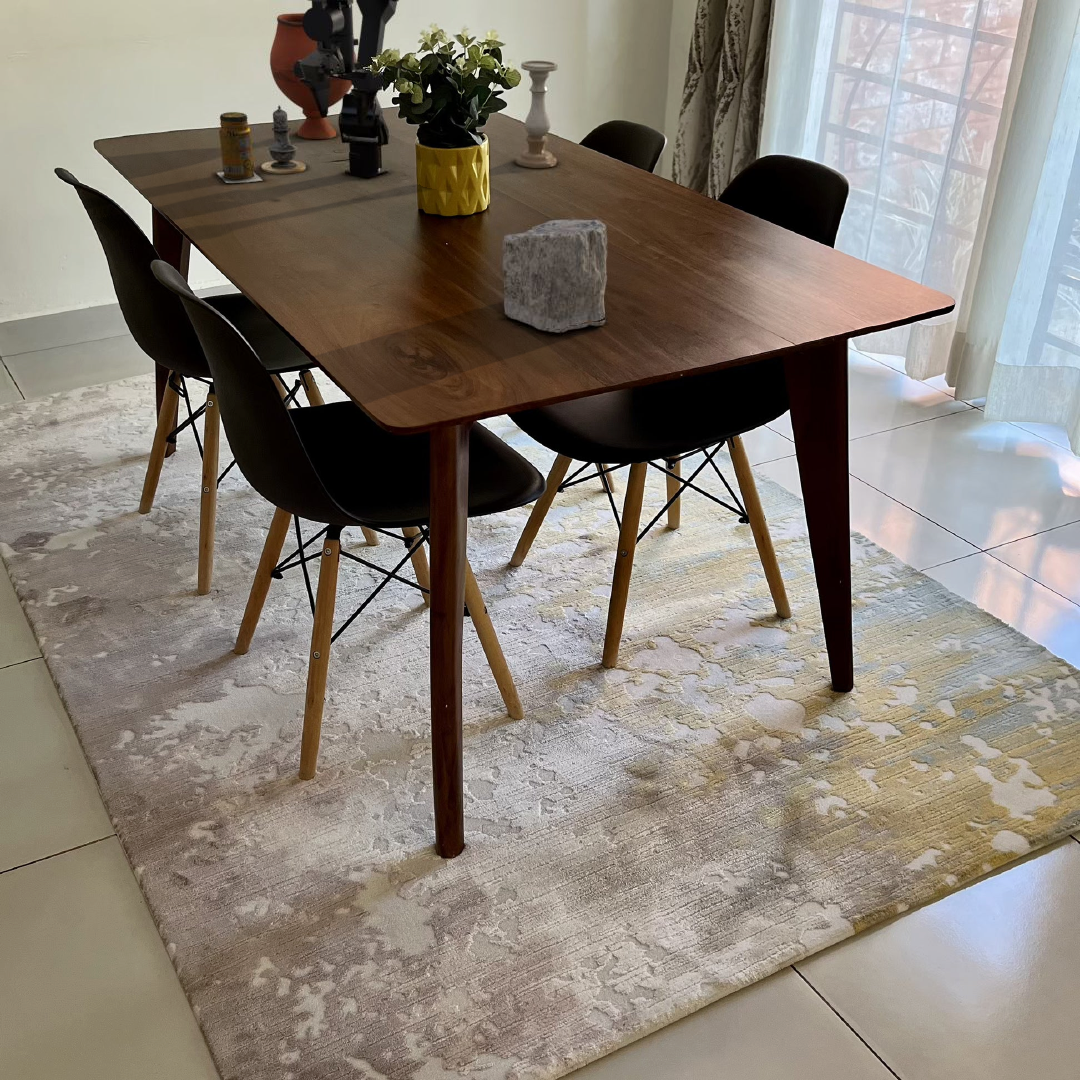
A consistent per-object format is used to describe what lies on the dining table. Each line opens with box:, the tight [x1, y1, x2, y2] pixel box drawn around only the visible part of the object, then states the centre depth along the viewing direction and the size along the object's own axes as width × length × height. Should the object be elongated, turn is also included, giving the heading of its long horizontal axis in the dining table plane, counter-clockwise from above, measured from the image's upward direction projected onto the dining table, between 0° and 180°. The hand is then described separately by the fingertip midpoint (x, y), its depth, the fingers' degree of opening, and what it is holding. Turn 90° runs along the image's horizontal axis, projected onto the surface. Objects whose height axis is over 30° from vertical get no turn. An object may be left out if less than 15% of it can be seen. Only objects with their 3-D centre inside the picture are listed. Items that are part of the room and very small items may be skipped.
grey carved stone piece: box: [267, 104, 298, 169], centre depth 242 cm, size 6×6×12 cm
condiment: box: [216, 111, 263, 184], centre depth 235 cm, size 7×8×12 cm
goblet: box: [269, 12, 357, 140], centre depth 264 cm, size 19×19×25 cm
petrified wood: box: [501, 219, 608, 333], centre depth 176 cm, size 19×17×15 cm
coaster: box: [260, 160, 307, 175], centre depth 245 cm, size 9×9×1 cm
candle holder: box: [515, 60, 559, 169], centre depth 250 cm, size 9×9×20 cm
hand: (342, 121), depth 227 cm, fingers open, 9 cm apart
